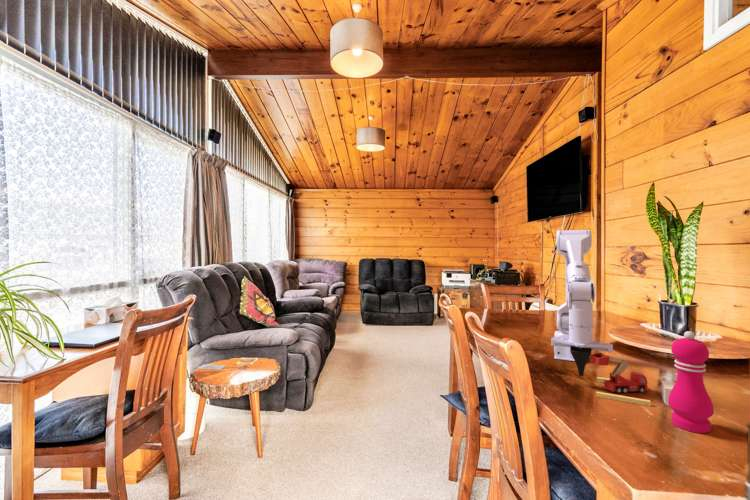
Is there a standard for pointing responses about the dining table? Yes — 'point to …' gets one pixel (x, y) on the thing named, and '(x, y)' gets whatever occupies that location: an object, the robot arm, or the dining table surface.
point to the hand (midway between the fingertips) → (581, 374)
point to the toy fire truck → (617, 381)
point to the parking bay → (666, 391)
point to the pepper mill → (690, 386)
